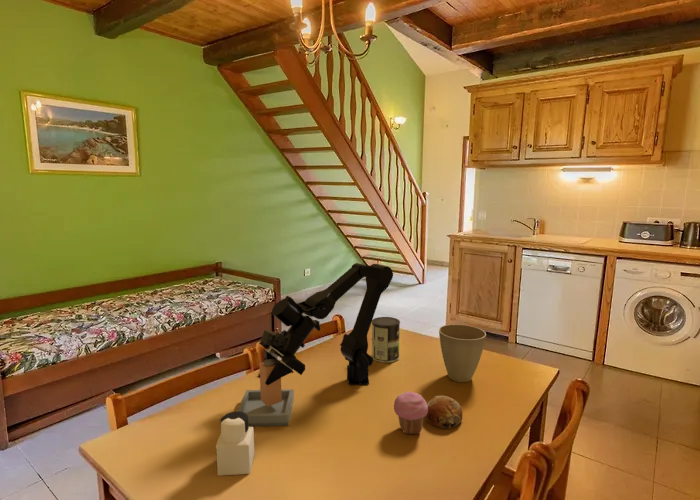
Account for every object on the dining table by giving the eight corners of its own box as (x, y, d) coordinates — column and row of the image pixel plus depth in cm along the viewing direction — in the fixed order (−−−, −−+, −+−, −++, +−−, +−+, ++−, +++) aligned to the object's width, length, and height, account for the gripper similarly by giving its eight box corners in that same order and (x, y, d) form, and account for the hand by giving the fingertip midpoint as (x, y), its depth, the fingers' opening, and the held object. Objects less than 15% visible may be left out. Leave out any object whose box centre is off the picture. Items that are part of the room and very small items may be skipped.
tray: (293, 398, 122) (293, 389, 122) (288, 425, 108) (287, 415, 108) (246, 399, 122) (246, 390, 121) (235, 426, 108) (234, 416, 107)
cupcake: (432, 438, 103) (433, 401, 101) (398, 442, 101) (399, 404, 100) (420, 418, 111) (421, 384, 110) (389, 421, 110) (389, 387, 108)
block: (275, 395, 118) (273, 356, 117) (281, 401, 115) (280, 362, 113) (260, 399, 116) (259, 360, 114) (267, 406, 112) (265, 366, 111)
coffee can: (397, 351, 157) (398, 316, 155) (400, 363, 147) (401, 325, 144) (371, 351, 157) (371, 316, 155) (372, 363, 147) (372, 325, 145)
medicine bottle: (224, 455, 96) (221, 408, 95) (254, 453, 97) (252, 406, 95) (216, 476, 89) (214, 426, 87) (250, 474, 90) (247, 424, 88)
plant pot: (483, 391, 126) (485, 342, 124) (434, 384, 131) (436, 336, 129) (484, 370, 140) (486, 326, 138) (440, 365, 145) (441, 321, 143)
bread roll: (462, 428, 113) (464, 398, 115) (460, 432, 104) (462, 399, 106) (426, 421, 116) (429, 392, 118) (421, 425, 107) (424, 393, 109)
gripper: (264, 311, 121) (229, 355, 116) (294, 328, 106) (255, 380, 101) (288, 331, 127) (256, 374, 122) (320, 350, 112) (285, 400, 107)
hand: (262, 381), depth 113 cm, fingers closed on block, 4 cm apart
